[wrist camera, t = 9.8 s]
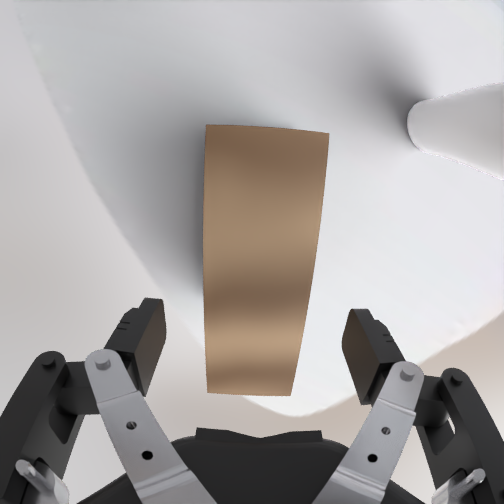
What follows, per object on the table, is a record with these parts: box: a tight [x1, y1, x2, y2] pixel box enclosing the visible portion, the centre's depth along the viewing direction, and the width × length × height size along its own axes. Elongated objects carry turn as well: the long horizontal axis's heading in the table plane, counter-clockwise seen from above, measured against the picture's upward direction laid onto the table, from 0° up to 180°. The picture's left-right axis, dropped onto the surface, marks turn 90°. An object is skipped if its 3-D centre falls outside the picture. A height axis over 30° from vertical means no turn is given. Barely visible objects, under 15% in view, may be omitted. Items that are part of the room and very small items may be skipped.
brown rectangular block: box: [203, 125, 329, 396], centre depth 18 cm, size 16×6×5 cm, turn 177°
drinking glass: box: [407, 82, 504, 181], centre depth 16 cm, size 7×7×15 cm
